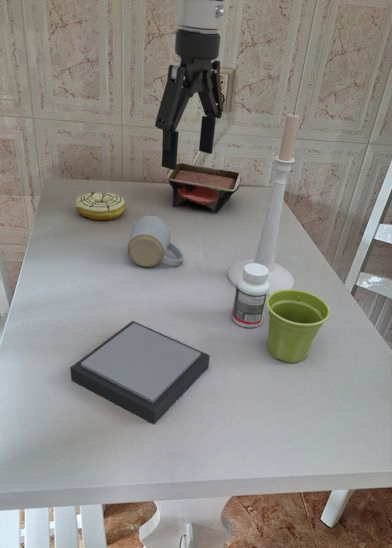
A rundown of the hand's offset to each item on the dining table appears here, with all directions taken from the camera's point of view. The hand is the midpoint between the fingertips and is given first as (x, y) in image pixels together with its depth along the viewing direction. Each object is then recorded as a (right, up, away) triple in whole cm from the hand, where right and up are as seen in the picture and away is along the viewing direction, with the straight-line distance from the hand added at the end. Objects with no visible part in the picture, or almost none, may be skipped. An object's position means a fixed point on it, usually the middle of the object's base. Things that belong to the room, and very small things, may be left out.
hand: (188, 159), depth 95 cm
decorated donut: (-20, -6, +17) cm, 27 cm away
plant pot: (+16, -37, -17) cm, 44 cm away
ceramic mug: (-7, -19, +2) cm, 20 cm away
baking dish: (+3, 0, +28) cm, 28 cm away
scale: (-6, -40, -25) cm, 48 cm away
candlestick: (+14, -23, 0) cm, 27 cm away
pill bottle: (+10, -32, -11) cm, 35 cm away
